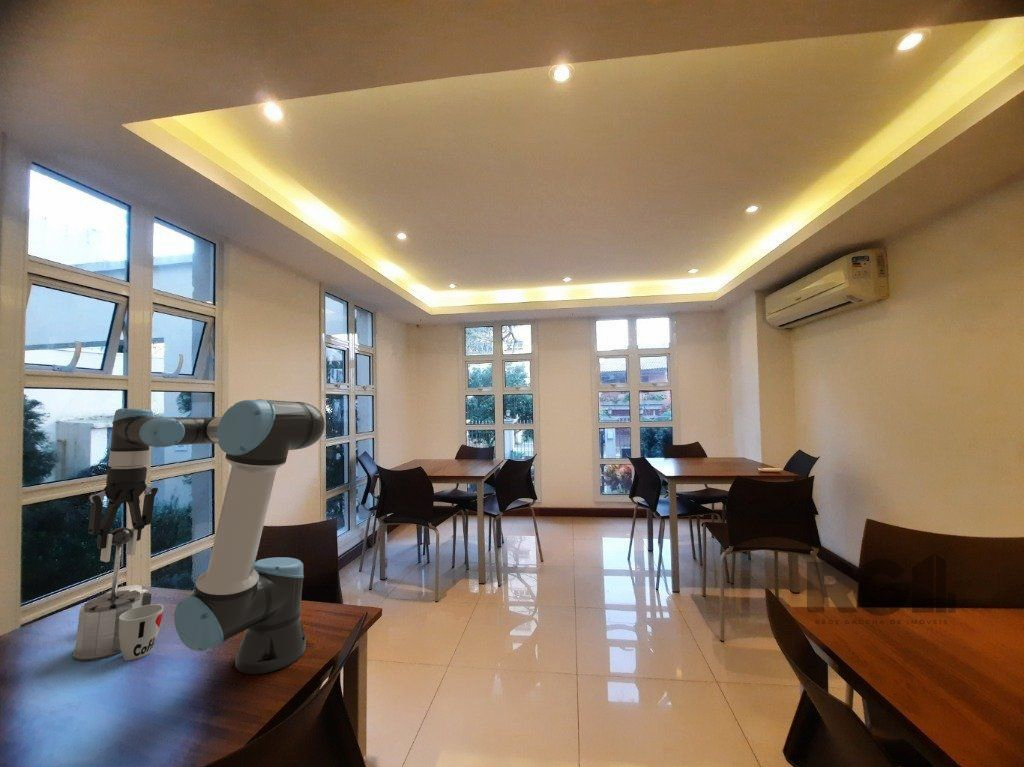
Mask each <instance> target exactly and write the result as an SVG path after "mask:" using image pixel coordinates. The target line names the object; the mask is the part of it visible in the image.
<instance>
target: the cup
mask: <svg viewBox="0 0 1024 767" xmlns="http://www.w3.org/2000/svg"><path fill="white" fill-rule="evenodd" d="M164 607H165V606H164V605H163V604H157V603H156V604H155V603H154V604H151V603H150V605H145V606H140V607H137V608H133V609H131V610H128V611H126V612H124V613H123V614H121V615H120V617H119V641H120V649H121V654H122V658H123V659H124V660H125V661H131V660H132V661H133V660H137V659H140V658H142V657H146V656H147V655H149V654H150V653H151V652H152V650H153V648H154V646H155V643H156V642H157V638H158V635H159V632H160V628H161V624H162V619H163V614H164V613H163V612H164Z"/></svg>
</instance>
